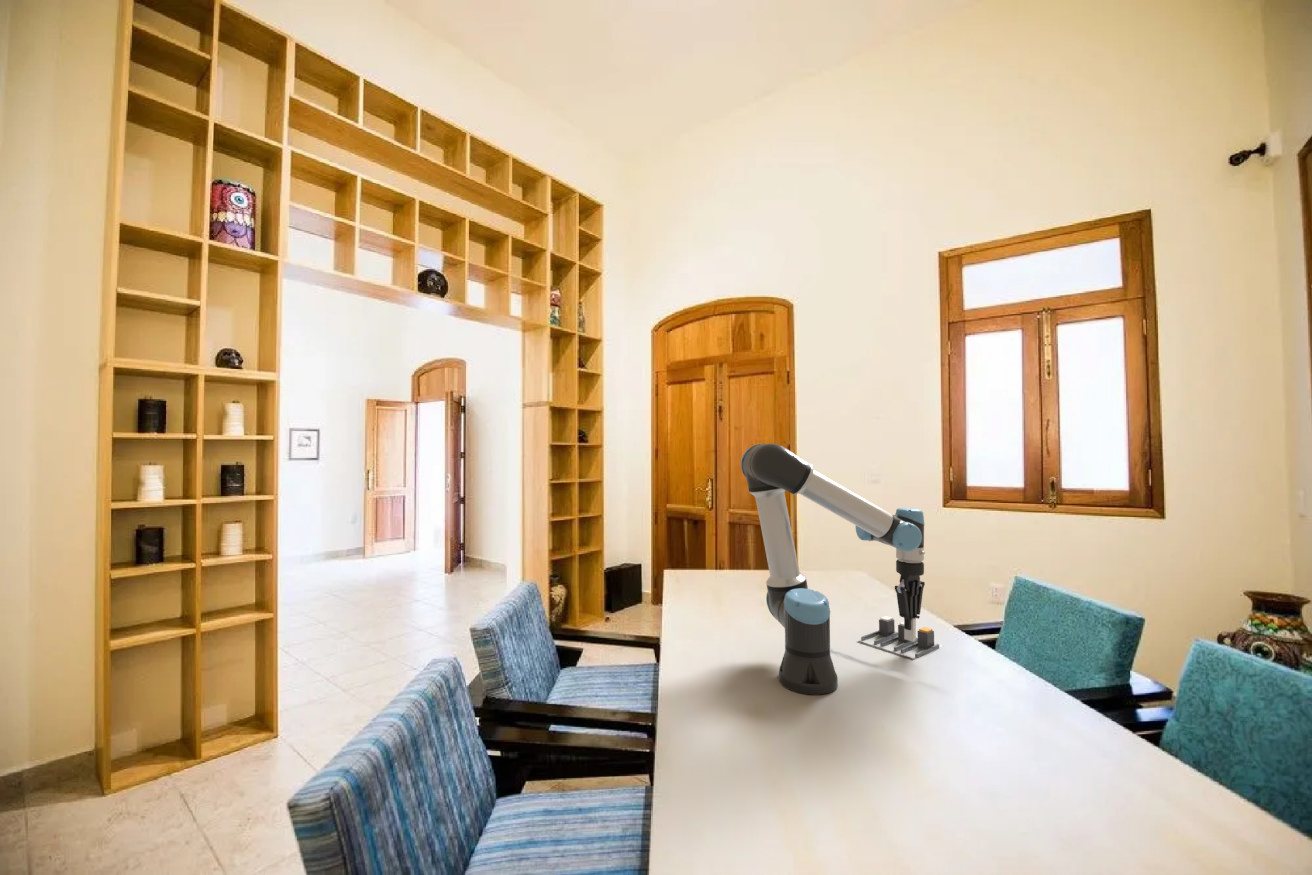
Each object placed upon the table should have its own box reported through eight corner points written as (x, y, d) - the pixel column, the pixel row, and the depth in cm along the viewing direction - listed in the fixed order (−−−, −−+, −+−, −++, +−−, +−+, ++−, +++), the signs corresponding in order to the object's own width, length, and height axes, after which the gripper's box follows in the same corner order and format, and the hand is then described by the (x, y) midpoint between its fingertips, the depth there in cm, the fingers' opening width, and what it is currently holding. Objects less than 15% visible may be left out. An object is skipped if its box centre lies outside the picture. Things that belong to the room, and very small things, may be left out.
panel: (908, 668, 148) (908, 660, 148) (846, 647, 164) (846, 640, 164) (953, 647, 163) (952, 640, 163) (891, 630, 180) (891, 623, 180)
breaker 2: (907, 643, 164) (907, 625, 164) (898, 640, 166) (898, 623, 166) (914, 640, 166) (913, 623, 166) (905, 638, 169) (904, 620, 169)
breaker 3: (927, 650, 158) (927, 631, 158) (917, 647, 161) (917, 628, 161) (934, 647, 161) (933, 628, 161) (924, 644, 163) (924, 626, 163)
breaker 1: (887, 637, 169) (887, 620, 169) (879, 635, 172) (878, 617, 172) (894, 635, 171) (894, 617, 172) (886, 632, 174) (885, 615, 174)
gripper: (910, 565, 150) (910, 648, 150) (933, 560, 158) (933, 639, 157) (886, 560, 156) (885, 640, 156) (909, 555, 164) (909, 632, 163)
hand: (909, 639), depth 157 cm, fingers closed
